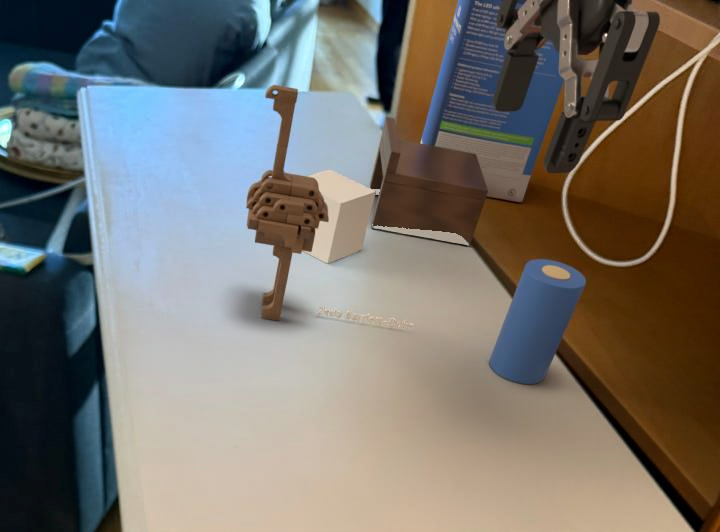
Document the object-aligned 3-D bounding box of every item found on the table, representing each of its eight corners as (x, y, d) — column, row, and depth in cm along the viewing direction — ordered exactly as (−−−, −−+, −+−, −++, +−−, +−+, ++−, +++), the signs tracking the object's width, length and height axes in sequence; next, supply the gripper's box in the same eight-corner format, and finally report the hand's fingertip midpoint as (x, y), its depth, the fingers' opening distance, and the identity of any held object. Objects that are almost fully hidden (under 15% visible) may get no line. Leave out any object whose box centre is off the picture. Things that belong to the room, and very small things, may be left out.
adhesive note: (316, 228, 99) (329, 169, 95) (361, 250, 97) (376, 191, 93) (281, 240, 96) (293, 179, 91) (327, 264, 93) (341, 203, 89)
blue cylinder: (539, 359, 86) (580, 263, 80) (549, 388, 83) (592, 291, 76) (485, 349, 86) (521, 253, 79) (492, 378, 82) (531, 280, 76)
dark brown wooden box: (459, 207, 110) (482, 134, 104) (469, 247, 102) (494, 170, 96) (368, 190, 109) (386, 116, 103) (371, 229, 101) (391, 151, 96)
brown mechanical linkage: (229, 321, 82) (263, 97, 69) (232, 287, 87) (265, 71, 74) (415, 351, 84) (482, 137, 71) (408, 315, 88) (470, 109, 75)
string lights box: (513, 182, 119) (600, -66, 100) (522, 205, 113) (615, -52, 95) (412, 163, 118) (481, -91, 99) (416, 185, 112) (489, -78, 94)
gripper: (757, -101, 50) (623, 191, 63) (629, -188, 58) (533, 89, 71) (637, -107, 48) (525, 195, 61) (521, -195, 56) (444, 90, 69)
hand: (529, 138), depth 66 cm, fingers open, 8 cm apart
